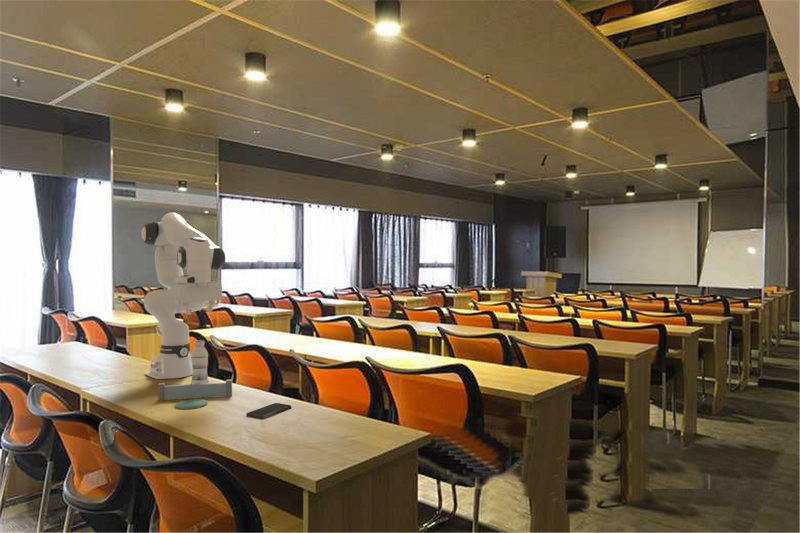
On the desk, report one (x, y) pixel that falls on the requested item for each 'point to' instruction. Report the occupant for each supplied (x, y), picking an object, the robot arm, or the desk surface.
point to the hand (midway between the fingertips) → (199, 313)
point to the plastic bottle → (199, 363)
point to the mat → (191, 404)
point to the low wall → (194, 390)
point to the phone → (268, 410)
